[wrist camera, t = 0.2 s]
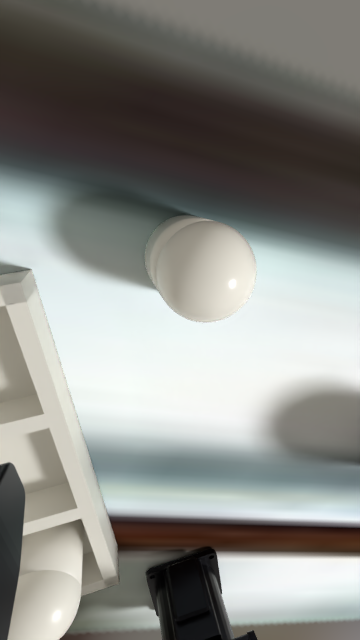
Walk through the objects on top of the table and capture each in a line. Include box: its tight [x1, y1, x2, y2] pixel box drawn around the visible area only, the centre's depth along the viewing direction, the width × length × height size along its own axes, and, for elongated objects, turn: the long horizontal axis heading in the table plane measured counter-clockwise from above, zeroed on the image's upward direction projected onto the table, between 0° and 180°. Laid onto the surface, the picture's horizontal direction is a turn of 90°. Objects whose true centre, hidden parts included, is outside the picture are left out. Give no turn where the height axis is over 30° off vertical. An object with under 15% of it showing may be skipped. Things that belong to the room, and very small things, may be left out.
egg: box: [145, 215, 257, 323], centre depth 18 cm, size 5×5×7 cm
